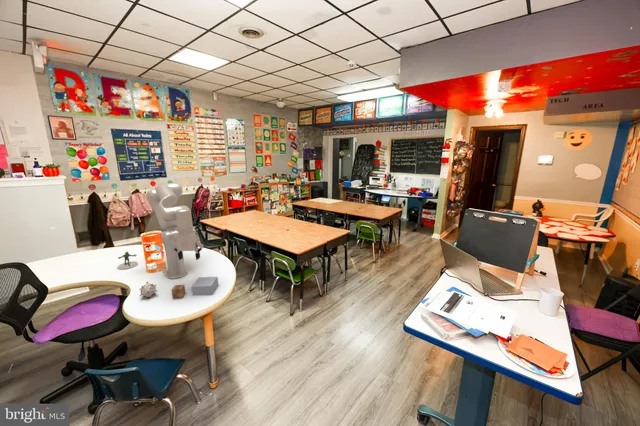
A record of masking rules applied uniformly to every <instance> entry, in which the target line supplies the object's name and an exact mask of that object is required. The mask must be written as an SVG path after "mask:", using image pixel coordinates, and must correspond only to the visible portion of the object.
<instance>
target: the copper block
mask: <svg viewBox="0 0 640 426" xmlns="http://www.w3.org/2000/svg"><path fill="white" fill-rule="evenodd" d="M170 290H171V295H172V300H180V299H183V298H184V296H185V295H186V292H187V291H186V287H185V284H174V286H173V287H172V288H171V289H170Z"/></svg>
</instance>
